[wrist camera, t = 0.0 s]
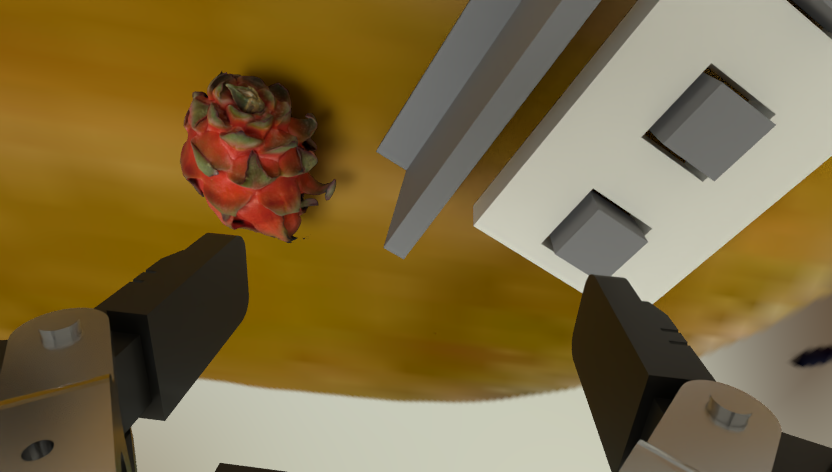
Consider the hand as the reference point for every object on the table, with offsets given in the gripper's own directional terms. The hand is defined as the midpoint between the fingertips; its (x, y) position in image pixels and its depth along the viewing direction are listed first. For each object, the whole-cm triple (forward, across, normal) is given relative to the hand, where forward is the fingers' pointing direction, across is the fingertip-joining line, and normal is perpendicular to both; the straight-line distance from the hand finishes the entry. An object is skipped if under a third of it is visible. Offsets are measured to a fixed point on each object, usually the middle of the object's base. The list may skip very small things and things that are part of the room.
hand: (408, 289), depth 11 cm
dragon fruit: (+23, +12, +2) cm, 26 cm away
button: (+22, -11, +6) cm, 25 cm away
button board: (+22, -15, -2) cm, 27 cm away
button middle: (+21, -15, -2) cm, 26 cm away
